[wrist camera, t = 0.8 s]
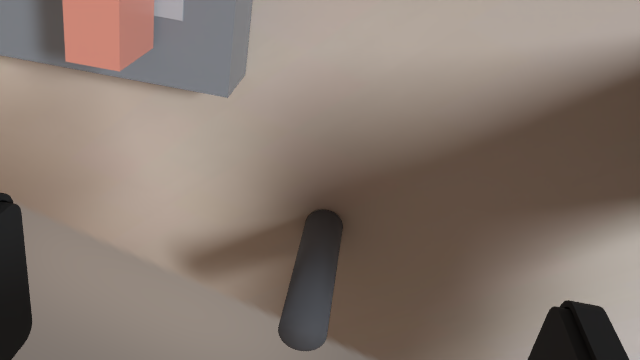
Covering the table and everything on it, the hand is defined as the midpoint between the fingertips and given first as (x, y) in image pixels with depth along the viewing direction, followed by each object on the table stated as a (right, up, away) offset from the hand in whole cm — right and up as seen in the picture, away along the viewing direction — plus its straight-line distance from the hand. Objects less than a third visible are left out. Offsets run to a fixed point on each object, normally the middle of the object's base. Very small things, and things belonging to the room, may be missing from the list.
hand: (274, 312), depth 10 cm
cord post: (+1, -1, +27) cm, 27 cm away
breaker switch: (-8, +11, +18) cm, 22 cm away
